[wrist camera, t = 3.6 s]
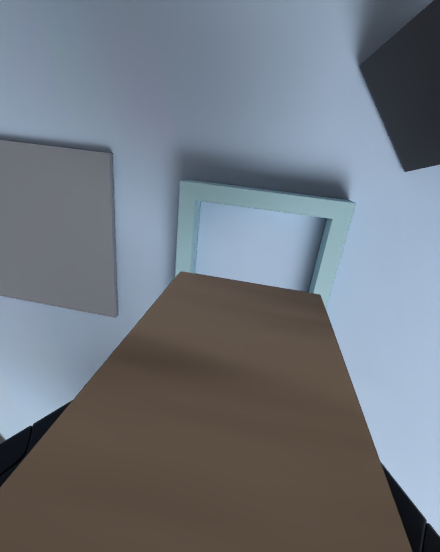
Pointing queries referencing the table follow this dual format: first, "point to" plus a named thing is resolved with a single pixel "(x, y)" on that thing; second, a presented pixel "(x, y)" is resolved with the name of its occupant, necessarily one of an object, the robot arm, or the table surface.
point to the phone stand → (410, 89)
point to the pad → (58, 227)
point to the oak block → (210, 438)
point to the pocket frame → (272, 200)
